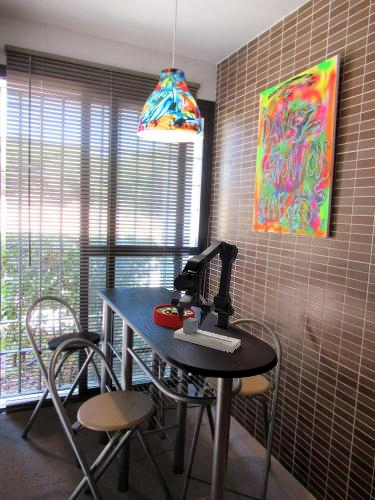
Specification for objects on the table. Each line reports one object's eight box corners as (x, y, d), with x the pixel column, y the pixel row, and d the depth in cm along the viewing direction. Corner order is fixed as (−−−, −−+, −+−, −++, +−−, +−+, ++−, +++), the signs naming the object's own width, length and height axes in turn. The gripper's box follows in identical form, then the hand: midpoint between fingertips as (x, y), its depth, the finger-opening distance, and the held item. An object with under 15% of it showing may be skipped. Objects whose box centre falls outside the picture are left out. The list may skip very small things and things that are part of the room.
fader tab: (189, 328, 158) (190, 317, 157) (197, 330, 156) (198, 319, 156) (182, 331, 153) (183, 320, 152) (191, 334, 151) (192, 322, 150)
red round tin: (145, 307, 175) (175, 302, 189) (144, 319, 176) (174, 313, 190) (173, 318, 161) (203, 312, 175) (172, 331, 162) (202, 324, 176)
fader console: (184, 331, 161) (185, 326, 161) (240, 345, 150) (240, 339, 149) (173, 337, 153) (174, 331, 152) (231, 353, 141) (232, 346, 140)
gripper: (165, 287, 150) (162, 323, 151) (206, 295, 141) (202, 333, 143) (178, 283, 160) (175, 317, 161) (217, 290, 151) (213, 327, 153)
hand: (190, 323), depth 154 cm, fingers open, 9 cm apart
